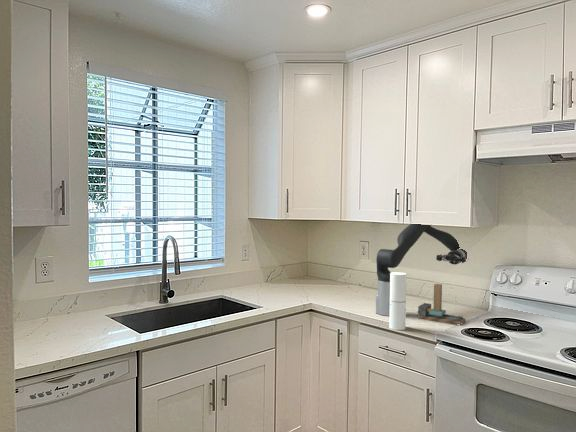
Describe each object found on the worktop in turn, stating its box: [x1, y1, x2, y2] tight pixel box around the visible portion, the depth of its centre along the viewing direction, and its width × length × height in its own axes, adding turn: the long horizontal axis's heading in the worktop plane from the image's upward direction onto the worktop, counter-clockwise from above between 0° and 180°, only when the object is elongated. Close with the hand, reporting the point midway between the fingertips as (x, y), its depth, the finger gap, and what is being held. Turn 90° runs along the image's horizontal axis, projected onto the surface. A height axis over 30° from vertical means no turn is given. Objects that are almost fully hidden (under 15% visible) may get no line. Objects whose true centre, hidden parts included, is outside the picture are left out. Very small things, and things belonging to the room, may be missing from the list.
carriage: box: [429, 283, 447, 316], centre depth 210 cm, size 6×7×14 cm
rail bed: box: [417, 302, 466, 326], centre depth 209 cm, size 20×9×6 cm, turn 53°
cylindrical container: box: [388, 271, 407, 331], centre depth 195 cm, size 7×7×25 cm
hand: (447, 259), depth 220 cm, fingers open, 8 cm apart
